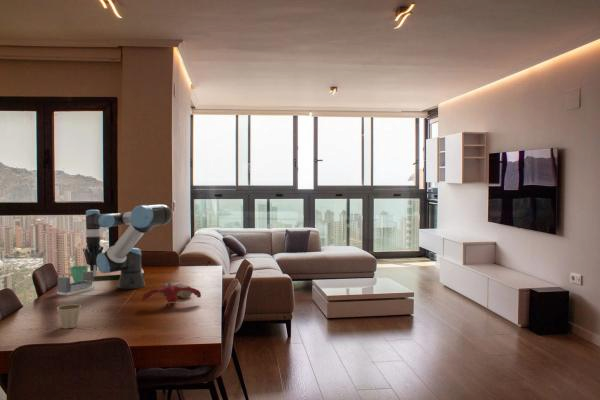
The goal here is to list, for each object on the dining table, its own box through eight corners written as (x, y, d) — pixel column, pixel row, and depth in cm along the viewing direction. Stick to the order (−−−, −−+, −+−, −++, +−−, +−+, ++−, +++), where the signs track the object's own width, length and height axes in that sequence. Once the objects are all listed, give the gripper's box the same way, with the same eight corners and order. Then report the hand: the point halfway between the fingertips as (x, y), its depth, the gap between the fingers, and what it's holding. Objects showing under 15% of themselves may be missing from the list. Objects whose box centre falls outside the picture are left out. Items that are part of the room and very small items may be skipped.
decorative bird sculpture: (142, 315, 252) (141, 298, 242) (143, 299, 259) (142, 282, 248) (200, 311, 260) (201, 294, 250) (199, 295, 266) (200, 278, 256)
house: (90, 275, 337) (89, 263, 336) (142, 271, 348) (141, 260, 348) (89, 281, 315) (88, 268, 315) (144, 277, 327) (144, 265, 327)
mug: (85, 285, 304) (85, 268, 304) (68, 285, 303) (68, 268, 302) (92, 280, 318) (92, 264, 318) (76, 280, 317) (75, 264, 317)
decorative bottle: (193, 297, 272) (193, 285, 272) (180, 299, 267) (180, 287, 267) (171, 289, 292) (170, 277, 291) (158, 291, 287) (158, 279, 286)
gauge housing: (84, 287, 296) (83, 271, 296) (94, 289, 293) (94, 272, 292) (57, 294, 280) (56, 277, 280) (67, 295, 277) (67, 278, 276)
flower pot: (62, 323, 223) (62, 304, 223) (84, 323, 224) (84, 303, 223) (54, 330, 214) (53, 310, 213) (77, 329, 214) (76, 309, 214)
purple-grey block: (85, 285, 296) (84, 271, 296) (94, 286, 292) (93, 272, 292) (77, 286, 292) (77, 272, 291) (87, 288, 288) (86, 273, 288)
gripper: (97, 234, 304) (98, 273, 305) (79, 236, 293) (79, 277, 294) (106, 235, 300) (107, 274, 302) (88, 237, 289) (88, 278, 290)
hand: (93, 276), depth 298 cm, fingers closed
